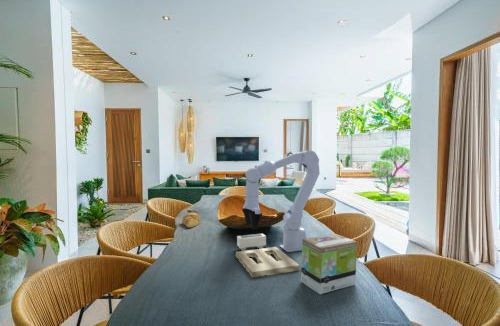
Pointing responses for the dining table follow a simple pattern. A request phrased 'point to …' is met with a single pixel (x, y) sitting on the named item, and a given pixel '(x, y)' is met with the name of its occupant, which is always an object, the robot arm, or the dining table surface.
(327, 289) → the tea box
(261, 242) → the white and grey block
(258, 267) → the keyhole board
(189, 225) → the croissant
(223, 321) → the dining table surface
